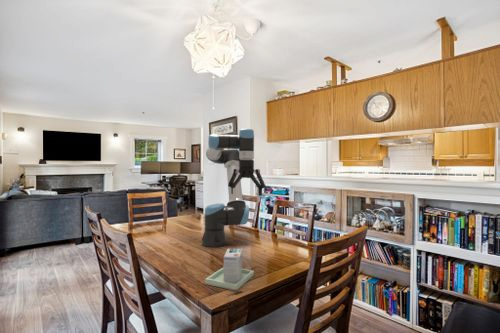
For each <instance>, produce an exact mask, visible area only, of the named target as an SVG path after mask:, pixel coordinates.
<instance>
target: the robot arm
mask: <svg viewBox="0 0 500 333" xmlns="http://www.w3.org/2000/svg"><path fill="white" fill-rule="evenodd" d="M207 140H208V148H206V152H205V155H206V158H207V159H208V160H209V161H210V162H212V163H214V164H218V165H219V164H221V165H223V167H224V168H226V175H227V176H226V178H227V190H228V191H227V192H228V202H227V203H226V205H225V204H224V203H214V204H210V205H209V204H208V205H207V206H206V207H205V208H204V232H203V235H202V238H201V245H202V246H203V247H208V248H211V247H212V248H216V247H217V248H218V247H223V246H225V245H227V244H228V238H227V235H226V234H227V233H226V232H225V226H241V225H242V226H243V225H246V224H247V223H248V222H249V217H250V206H249V205H248V204H246V201H245V200H243V199H244V198H243V189H242V181H241V180H242V179H245V178H247V179H251V181H252V182H253V183H254V185H255V186H256V187H257V189H256V203H261V196H263V189H265V188H267V186H266V184H265V181H264V180H263V178H262V175H261V170H260V169H259V168H256V169H255V168H254V167H255V160H254V159H255V132H254V129H252V128H241V129H240V130H239V133H238V134H220V133H219V134H217V133H215V134H209V136H208V139H207ZM255 175H256V176H255ZM257 179H258V180H257Z"/></svg>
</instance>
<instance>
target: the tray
mask: <svg viewBox="0 0 500 333" xmlns="http://www.w3.org/2000/svg"><path fill="white" fill-rule="evenodd" d="M223 275H224V266H223V267H222V268H220V269H218V270H216V271H215V272H214V273H212V274H210V275H209V276H207V277H206V278H205V281H204V282H205V283H204V284H205V285H210V286H212V287H213V286H214V287H218V288H222V289H227V290H231V291H234V292H235V291H236V292H237V291H238V290H239V289H240V288H242V286H244V285H245V284H246V283H247V282H248V281H249V280H250V279H252V278H253V277H254V276H255V270H254V269H253V270H251V269H247V268H242V274H241V279H240V281H238V282H237V283H228V282H223Z"/></svg>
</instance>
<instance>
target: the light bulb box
mask: <svg viewBox="0 0 500 333" xmlns="http://www.w3.org/2000/svg"><path fill="white" fill-rule="evenodd" d="M223 267H224V275H223V282H228V283H237V282H238V281H240V279H241V274H242V269H243V248H227V249H226V252H225V253H224V255H223Z"/></svg>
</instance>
